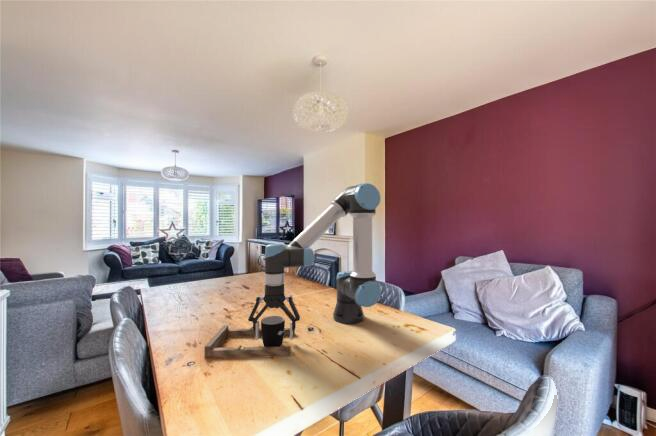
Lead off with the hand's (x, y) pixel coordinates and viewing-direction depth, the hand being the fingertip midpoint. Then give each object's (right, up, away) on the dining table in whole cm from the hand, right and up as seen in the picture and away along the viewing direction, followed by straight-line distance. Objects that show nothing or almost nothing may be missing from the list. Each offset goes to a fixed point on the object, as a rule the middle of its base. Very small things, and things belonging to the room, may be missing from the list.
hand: (274, 338), depth 105 cm
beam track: (-8, -2, 0) cm, 8 cm away
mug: (0, -2, 0) cm, 2 cm away
